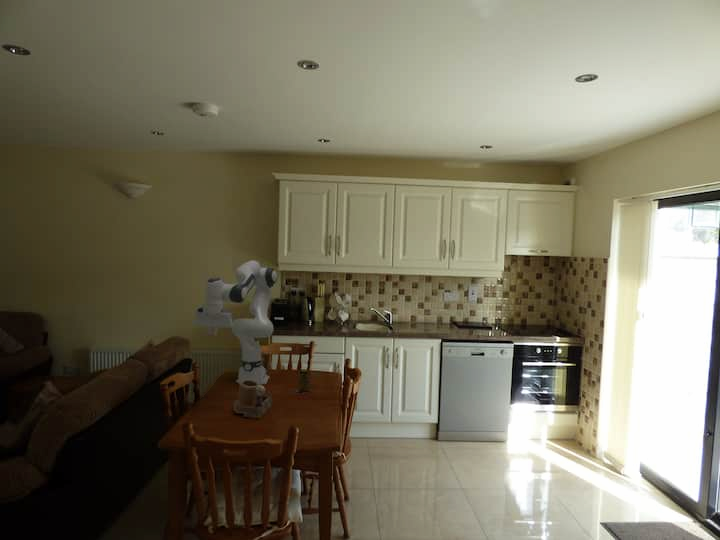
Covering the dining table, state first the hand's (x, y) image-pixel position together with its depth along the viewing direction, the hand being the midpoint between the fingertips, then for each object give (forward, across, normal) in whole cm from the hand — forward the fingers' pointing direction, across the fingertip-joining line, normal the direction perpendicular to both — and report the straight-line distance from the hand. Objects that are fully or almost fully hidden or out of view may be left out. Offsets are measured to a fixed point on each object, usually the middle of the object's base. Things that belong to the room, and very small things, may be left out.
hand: (213, 335), depth 236 cm
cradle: (+35, -29, +9) cm, 46 cm away
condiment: (+36, -43, -27) cm, 62 cm away
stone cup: (+35, -22, +9) cm, 43 cm away
